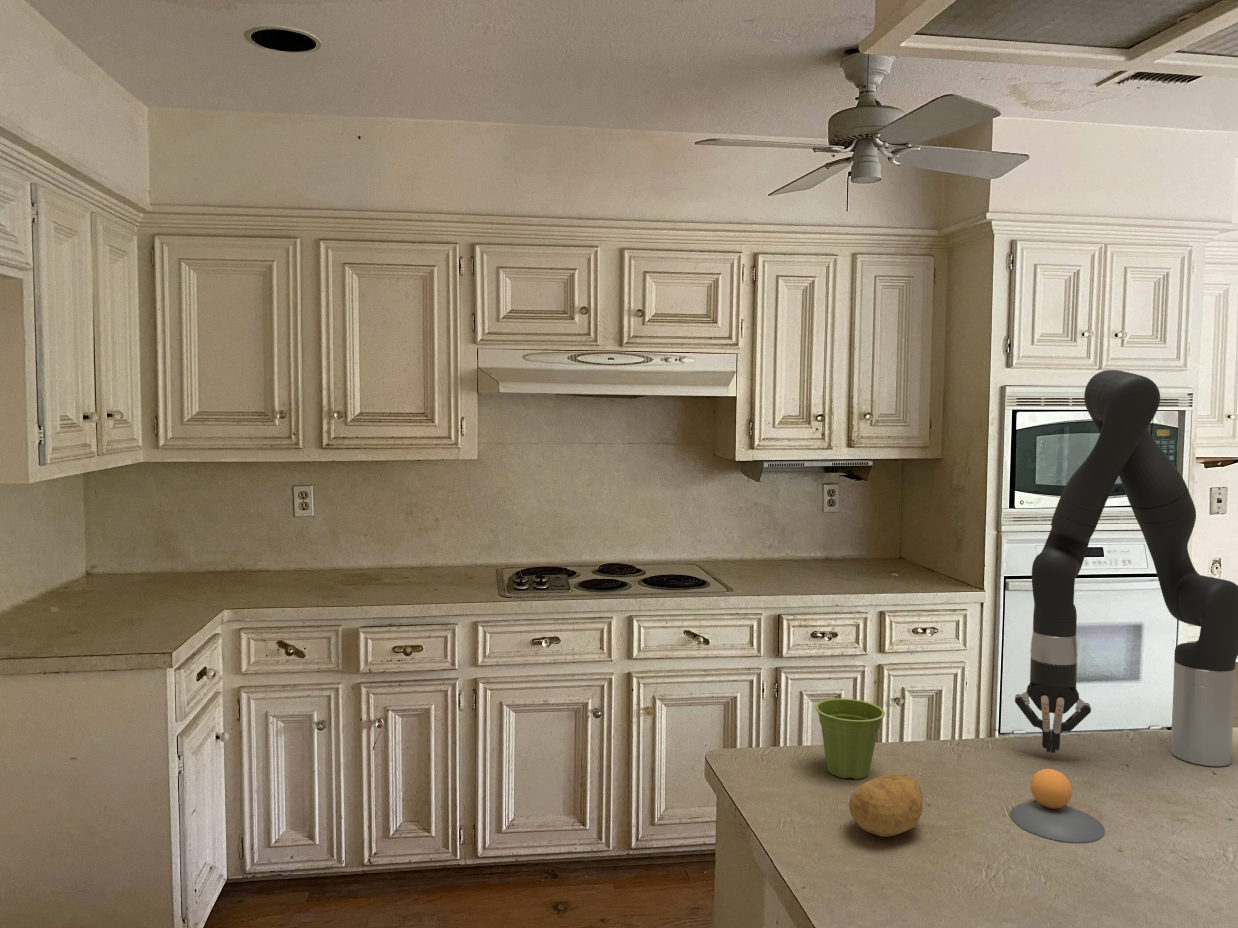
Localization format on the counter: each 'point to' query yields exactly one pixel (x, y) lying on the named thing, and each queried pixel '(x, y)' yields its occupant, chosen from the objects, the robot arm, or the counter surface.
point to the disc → (1057, 823)
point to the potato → (887, 804)
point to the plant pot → (849, 735)
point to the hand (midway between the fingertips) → (1050, 750)
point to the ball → (1051, 788)
